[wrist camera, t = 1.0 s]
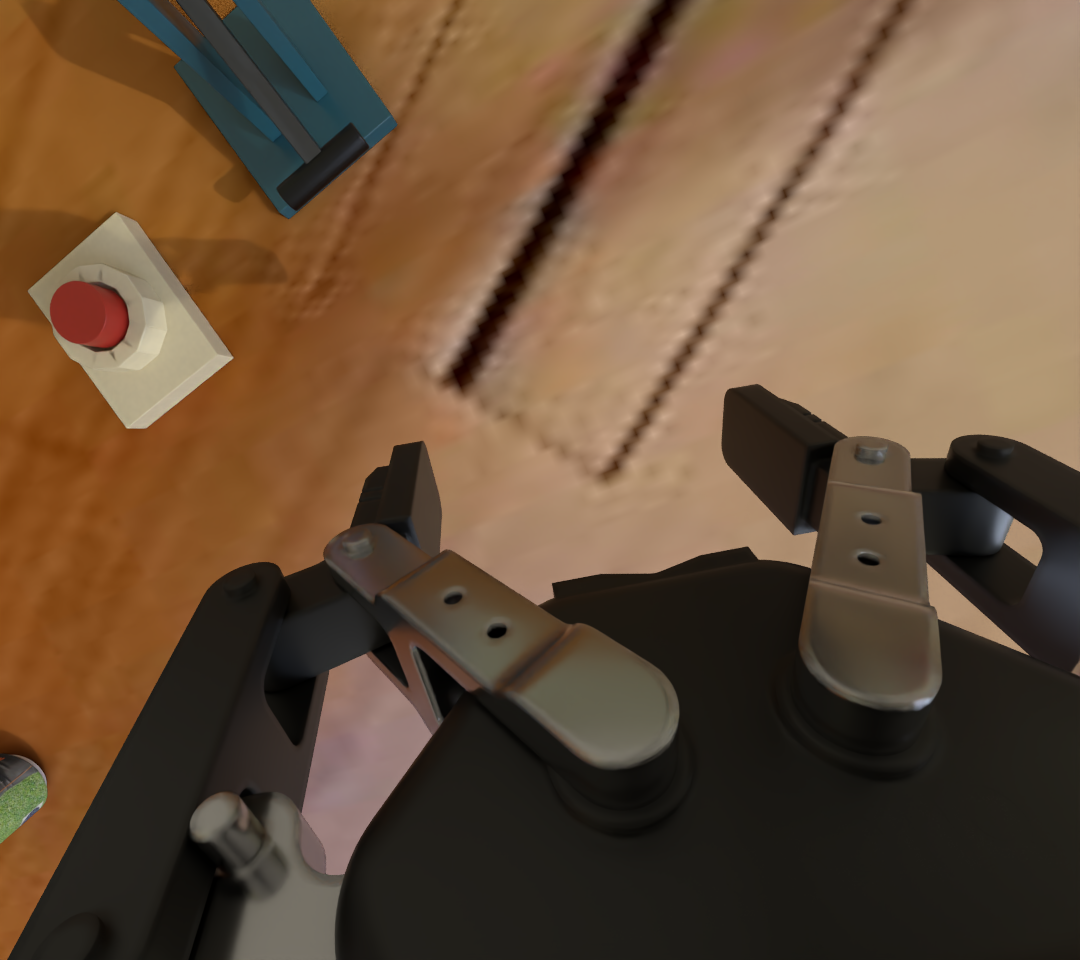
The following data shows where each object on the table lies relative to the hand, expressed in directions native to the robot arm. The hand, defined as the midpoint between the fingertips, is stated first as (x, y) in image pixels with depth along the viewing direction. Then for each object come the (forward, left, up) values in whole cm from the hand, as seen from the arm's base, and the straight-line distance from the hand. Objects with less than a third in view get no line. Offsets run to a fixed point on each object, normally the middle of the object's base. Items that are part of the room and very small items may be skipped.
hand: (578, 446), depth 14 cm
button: (-5, -33, -19) cm, 39 cm away
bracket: (-21, -22, -23) cm, 38 cm away
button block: (-5, -33, -23) cm, 41 cm away
